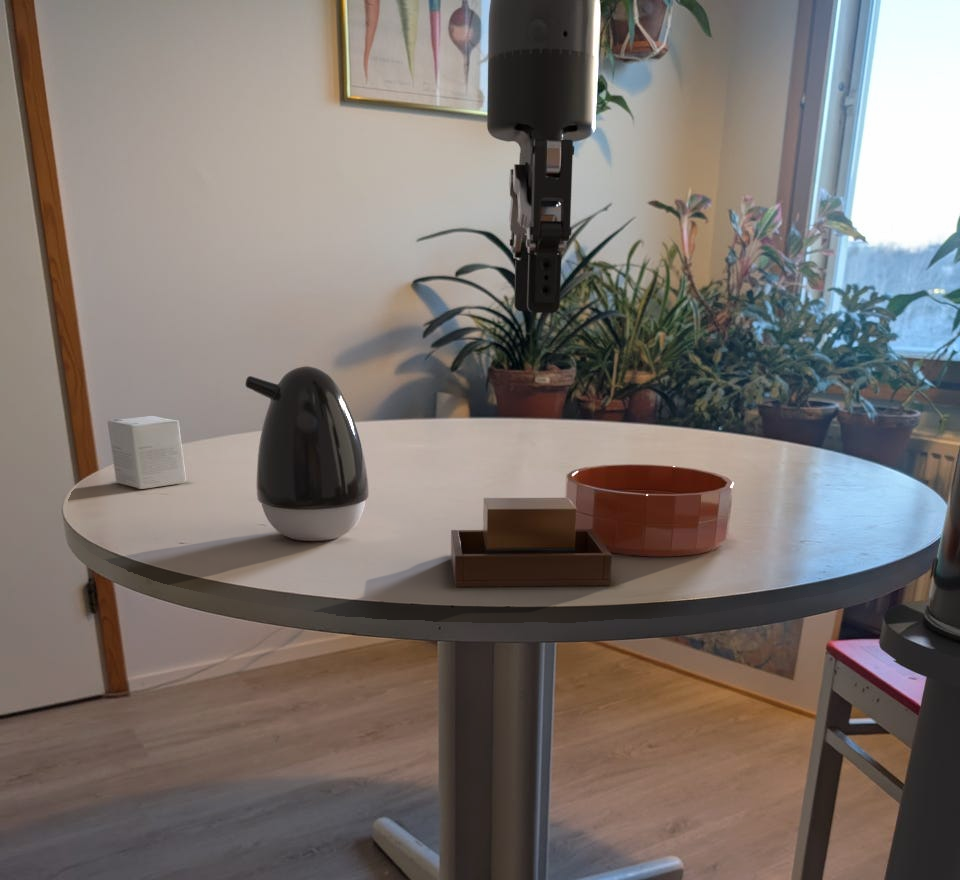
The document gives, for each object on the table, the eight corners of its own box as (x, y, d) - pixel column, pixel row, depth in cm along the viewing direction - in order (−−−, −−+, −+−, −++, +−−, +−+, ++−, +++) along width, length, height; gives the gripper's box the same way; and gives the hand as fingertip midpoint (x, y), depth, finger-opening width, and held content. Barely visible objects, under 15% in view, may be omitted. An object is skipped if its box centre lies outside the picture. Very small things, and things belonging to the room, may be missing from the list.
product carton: (187, 483, 106) (180, 419, 103) (138, 490, 101) (130, 424, 99) (162, 476, 109) (154, 415, 107) (114, 482, 105) (105, 419, 103)
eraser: (565, 558, 75) (567, 497, 73) (573, 572, 71) (576, 508, 69) (482, 558, 75) (483, 497, 73) (486, 573, 71) (487, 509, 69)
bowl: (752, 533, 86) (759, 477, 84) (681, 568, 75) (687, 503, 73) (614, 510, 95) (618, 458, 93) (533, 538, 83) (534, 479, 81)
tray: (590, 557, 77) (592, 529, 77) (610, 585, 70) (612, 554, 69) (451, 558, 77) (451, 529, 76) (455, 587, 69) (455, 556, 68)
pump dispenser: (255, 524, 87) (242, 362, 81) (362, 519, 89) (355, 361, 84) (259, 552, 78) (245, 371, 72) (378, 545, 80) (372, 370, 75)
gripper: (620, 30, 54) (604, 314, 60) (579, 82, 67) (569, 311, 73) (497, 26, 53) (492, 313, 59) (480, 79, 67) (478, 310, 72)
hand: (535, 311), depth 66 cm, fingers open, 8 cm apart
